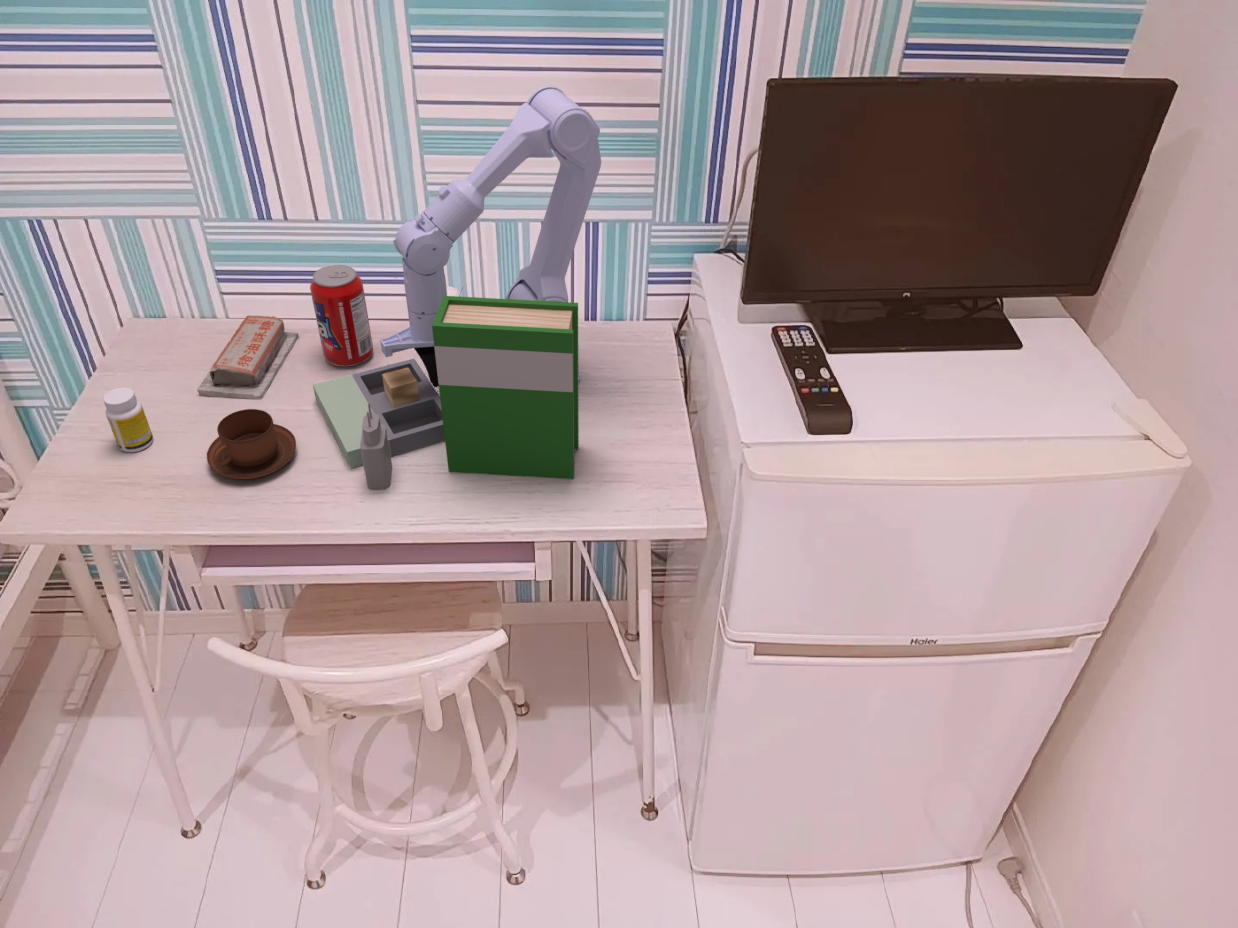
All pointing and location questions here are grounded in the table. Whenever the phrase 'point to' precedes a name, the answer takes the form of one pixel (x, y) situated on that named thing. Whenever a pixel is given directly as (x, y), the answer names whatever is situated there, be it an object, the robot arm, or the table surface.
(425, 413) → the box
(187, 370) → the table surface
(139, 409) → the supplement bottle
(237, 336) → the packaged product
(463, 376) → the hardback book
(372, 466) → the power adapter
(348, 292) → the soda can
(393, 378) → the maple block
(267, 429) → the cup and saucer
